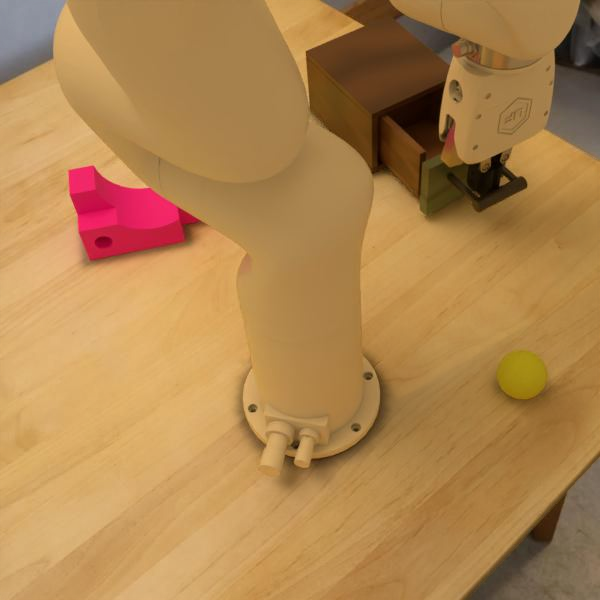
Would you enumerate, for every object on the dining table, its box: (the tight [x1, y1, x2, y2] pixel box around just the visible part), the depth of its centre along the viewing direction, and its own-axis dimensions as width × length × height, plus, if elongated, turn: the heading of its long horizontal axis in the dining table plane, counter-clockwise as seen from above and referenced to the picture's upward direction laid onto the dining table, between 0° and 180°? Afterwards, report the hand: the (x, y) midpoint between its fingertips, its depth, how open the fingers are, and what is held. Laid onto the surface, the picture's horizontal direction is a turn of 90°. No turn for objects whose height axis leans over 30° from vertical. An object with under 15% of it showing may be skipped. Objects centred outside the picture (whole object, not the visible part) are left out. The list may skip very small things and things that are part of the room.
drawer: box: [377, 87, 529, 217], centre depth 91 cm, size 18×10×7 cm, turn 31°
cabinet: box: [305, 15, 450, 175], centre depth 98 cm, size 14×12×9 cm
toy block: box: [67, 164, 202, 261], centre depth 91 cm, size 15×6×8 cm, turn 102°
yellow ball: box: [496, 349, 548, 400], centre depth 76 cm, size 4×4×4 cm
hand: (482, 188), depth 88 cm, fingers closed
